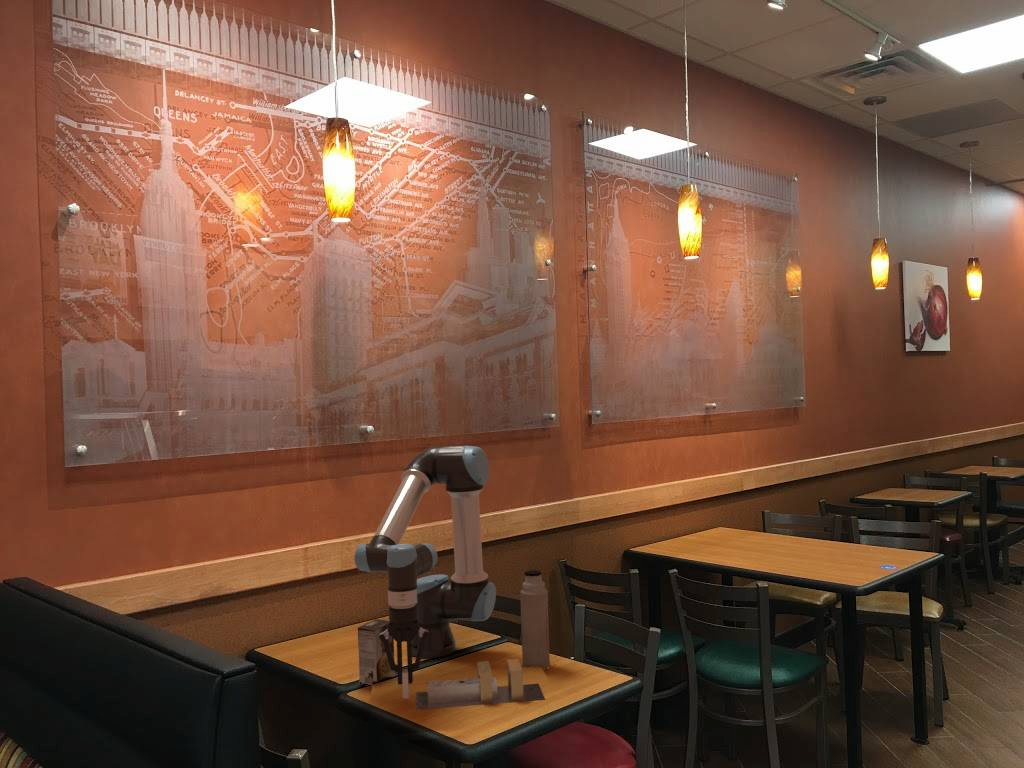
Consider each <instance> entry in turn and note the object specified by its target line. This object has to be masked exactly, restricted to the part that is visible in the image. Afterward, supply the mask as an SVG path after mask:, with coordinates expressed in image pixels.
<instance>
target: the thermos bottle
mask: <svg viewBox="0 0 1024 768" xmlns="http://www.w3.org/2000/svg"><path fill="white" fill-rule="evenodd" d="M524 575H525V576H524V578H525V579H524V580H525V581H523V582H522V584H521V585H522V586H521V588H522V589H521V590H520V591H519V592H520V595H519V597H520V619H521V620H520V622H521V626H520V627H521V629H520V630H521V654H522V657H521V658H522V659H521V660H522V668H533V667H534V668H535V667H541V668H542V670H543V671H545V670H544V669H547V668H548V667H549V666H551V663H550V662H551V661H550V657H551V656H550V633H549V632H550V630H549V629H550V627H549V602H548V601H549V600H548V599H549V597H548V594H549V593H548V589H546V582H544V580H542V579H543V577H542V571H541V570H538V569H537V570H536V569H534V570H533V569H532V570H531V569H530V570H526V571H524ZM549 668H550V667H549ZM549 668H548V669H549ZM548 669H547V670H548Z"/></svg>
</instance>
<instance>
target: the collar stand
mask: <svg viewBox="0 0 1024 768" xmlns="http://www.w3.org/2000/svg"><path fill="white" fill-rule="evenodd" d="M506 663H507V664H506V665H507V685H501V686H500V685H499V686H498V685H497V698H493V696H492V677H493V671H492V668H491V665H490V661H489V660H487V661H485V660H483V661H477V678H480V698H481V699H472V700H458V701H445V702H432V703H428V691H420V692H416V693H415V694H416V695H415V697H416V700H415V703H416V711H417V710H418V711H419V710H428V709H429V710H430V709H444V708H456V707H469V706H470V707H471V706H482V705H483V706H484V705H497V704H508V703H509V704H510V703H521V702H522V703H523V702H537V701H545V700H546V698H545V695H544V693H543V691H542V688H541V686H540V684H539V683H530V684H529V683H528V684H524V677H523V676H524V674H523V670H524V669H523V666H521V665H522V664H521V663H520V660H519V659H518V658H514V659H507V661H506Z"/></svg>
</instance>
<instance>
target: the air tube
mask: <svg viewBox="0 0 1024 768" xmlns="http://www.w3.org/2000/svg"><path fill="white" fill-rule="evenodd" d="M426 683H427V685H426V686H427V692H428V703H432V702H445V701H458V700H472V699H481V698H480V678H478V677H476V678H465V679H464V678H462V679H450V680H449V679H447V680H434V681H427V682H426ZM497 687H498V681H497V678H496V676H492V696H493V698H497Z"/></svg>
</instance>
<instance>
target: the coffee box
mask: <svg viewBox="0 0 1024 768" xmlns="http://www.w3.org/2000/svg"><path fill="white" fill-rule="evenodd" d="M388 625H389V620H386V619H379V618H378V619H377V618H376V619H373V620H371V621H369V622H366V623H365V624H363V625H361V626H359V627H357V642H358V646H357V647H358V669H359V670H358V671H359V675H358V678H359V679H358V681H359V683H360V682H362V683H365V684H368V685H372V686H373V683H374V682H375V683H376V682H377V683H378V682H380V681H381V680H383V679H385V678H391V677H392V678H393V677H396V671H392V670H391V669H390V665H389V662H388V658H387V655H386V651H385V647H384V644H383V642H382V641H381V640H380V638H379V635H380V633H381V632H384V631H385V630H387V627H388ZM388 635H389V639H388V640H389V644H390V647H391V651H392V655H393V658H394V662H395V660H396V659H395V640H394V638H393V637H392V636H391V635H390V633H389V634H388ZM395 663H396V662H395ZM368 685H367V686H368Z"/></svg>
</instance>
